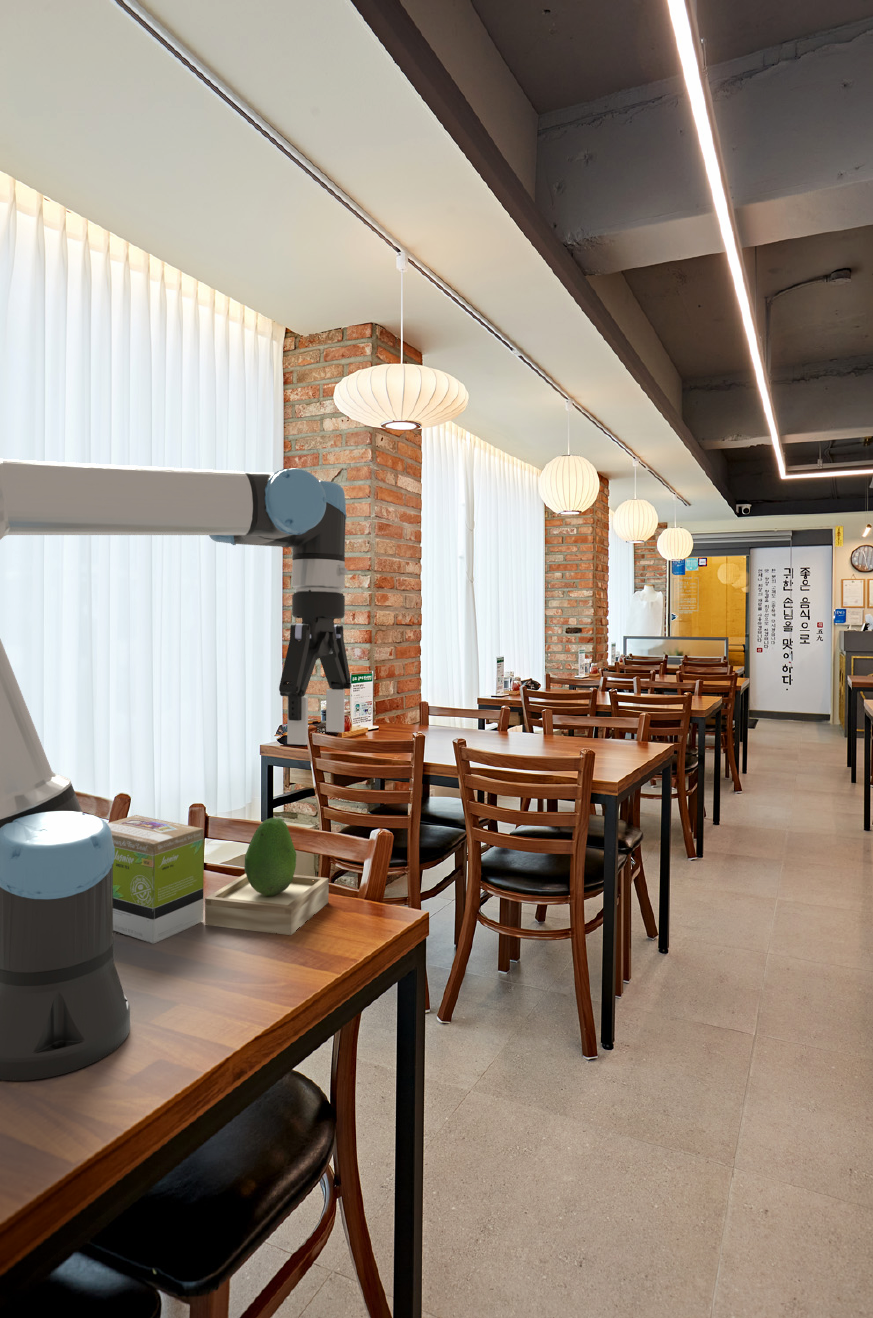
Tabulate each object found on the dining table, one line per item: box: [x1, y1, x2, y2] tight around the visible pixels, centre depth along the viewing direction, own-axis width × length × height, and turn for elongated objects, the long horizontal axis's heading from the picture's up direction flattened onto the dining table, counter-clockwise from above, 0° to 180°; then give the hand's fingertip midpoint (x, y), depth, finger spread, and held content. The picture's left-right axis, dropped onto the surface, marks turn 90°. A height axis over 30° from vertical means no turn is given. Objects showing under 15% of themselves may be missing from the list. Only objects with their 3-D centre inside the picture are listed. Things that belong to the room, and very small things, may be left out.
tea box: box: [106, 814, 205, 945], centre depth 114 cm, size 15×10×15 cm, turn 62°
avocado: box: [243, 817, 297, 896], centre depth 119 cm, size 8×8×12 cm
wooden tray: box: [204, 872, 330, 936], centre depth 119 cm, size 14×14×4 cm
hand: (317, 737), depth 110 cm, fingers open, 13 cm apart
